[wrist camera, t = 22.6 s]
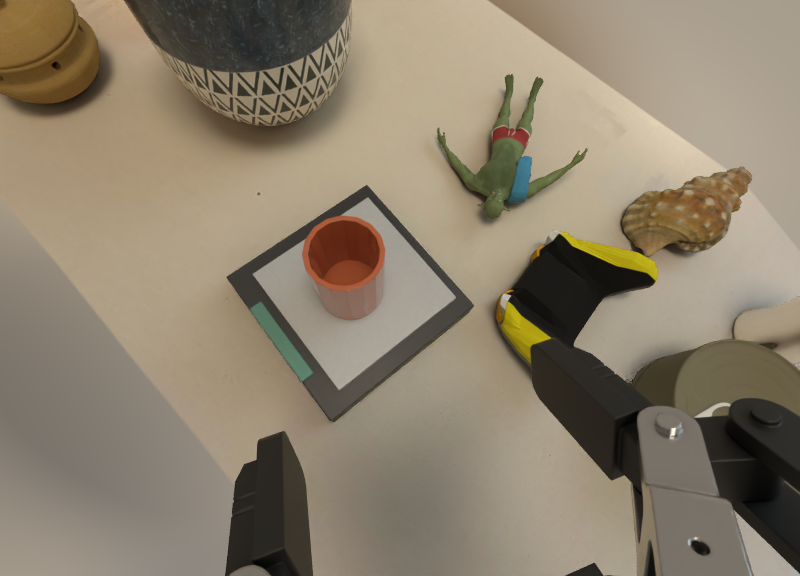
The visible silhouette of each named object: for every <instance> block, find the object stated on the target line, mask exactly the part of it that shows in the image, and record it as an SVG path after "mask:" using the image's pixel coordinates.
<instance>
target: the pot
mask: <svg viewBox="0 0 800 576" xmlns="http://www.w3.org/2000/svg"><path fill="white" fill-rule="evenodd" d="M98 67H99V49H98V42H97V39H96V37H95V34H94V32H93V30H92V28H91V27H90V26H89V25H88V24H87V22H86V21H85V20H84V19H83V18H81V17H79V16H78V12H77V10H76V8H75V5H74V4H73V3H72V2H71V1H70V0H0V93H2V94H4V95H7V96H9V97H12V98H15V99H18V100H21V101H26V102H32V103H38V104H45V103H57V102H62V101H65V100H68V99H71V98H73V97H75V96H76V95H78V94H80V93H81V92H82V91H84V90H85V89H86V88H87V87H88V86H89V85H90V84H91V83H92V82H93V80H94V78H95V76H96V74H97V72H98Z"/></svg>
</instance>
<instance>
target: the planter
mask: <svg viewBox="0 0 800 576" xmlns="http://www.w3.org/2000/svg"><path fill="white" fill-rule="evenodd" d="M124 2H125V3H126V5H127V6H128V8H129V9H130V11H131V12H132V14H133V15H134V17H135V18H136V20H137V21H138V23H139V24H140V26H141V27H142V29H143V30H144V32H145V33H146V35H147V36H148V38H149V39H150V41H151V42H152V44H153V45H154V47H155V48H156V50H157V51H158V53H159V54H160V56H161V57H162V59H163V60H164V62H165V63H166V64H167V66H168V67H169V68H170V70H171V71H172V72H173V73H174V75H175V76H176V77H177V78H178V79H179V80H180V81H181V82H182V83H183V85H184V86H185V87H186V88H187V89H188V90H189V91H190V92H191V93H193V94H194V95H195V96H196V97H197V98H198V99H199V100H200V101H202V102H203V103H204V104H206V105H207V106H208V107H210V108H211V109H213V110H214V111H216V112H218V113H220V114H222V115H224V116H226V117H228V118H230V119H233V120H236V121H239V122H243V123H247V124H252V125H261V126H273V125H282V124H287V123H290V122H293V121H296V120H299V119H301V118H303V117H305V116H307V115H308V114H310V113H312V112H313V111H315V110H316V109H317V108H318V107H320V106H321V105H322V104H323V103H324V102H325V101H326V100H327V99H328V98H329V96H330V95H331V94H332V92H333V91H334V89H335V88H336V86H337V84H338V83H339V81H340V78H341V76H342V73H343V71H344V68H345V64H346V60H347V57H348V52H349V46H350V40H351V26H352V0H124Z"/></svg>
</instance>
